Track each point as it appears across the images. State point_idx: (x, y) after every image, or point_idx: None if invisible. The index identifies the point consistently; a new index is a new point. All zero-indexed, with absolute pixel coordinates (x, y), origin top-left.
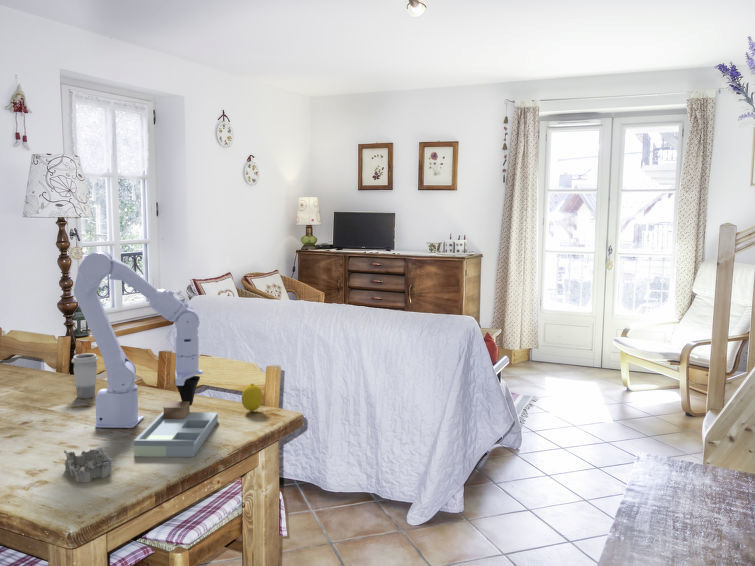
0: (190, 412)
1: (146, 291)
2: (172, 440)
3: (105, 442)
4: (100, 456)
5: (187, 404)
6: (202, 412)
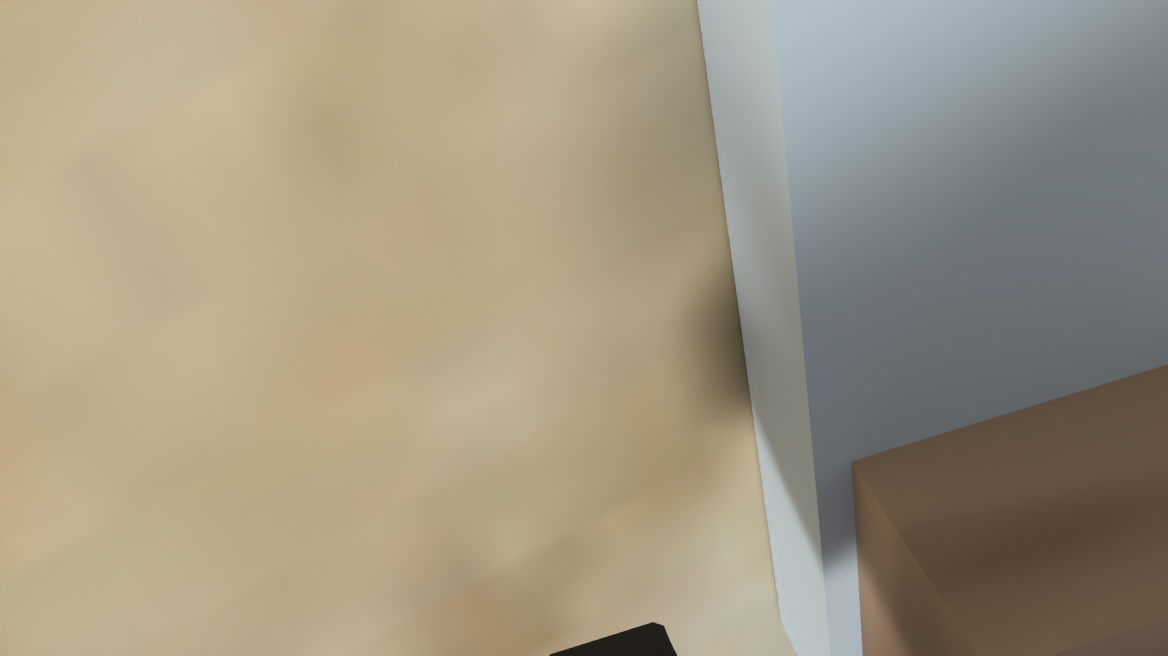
0: (831, 457)
1: None
2: None
3: None
4: None
5: (1151, 599)
6: (795, 241)
